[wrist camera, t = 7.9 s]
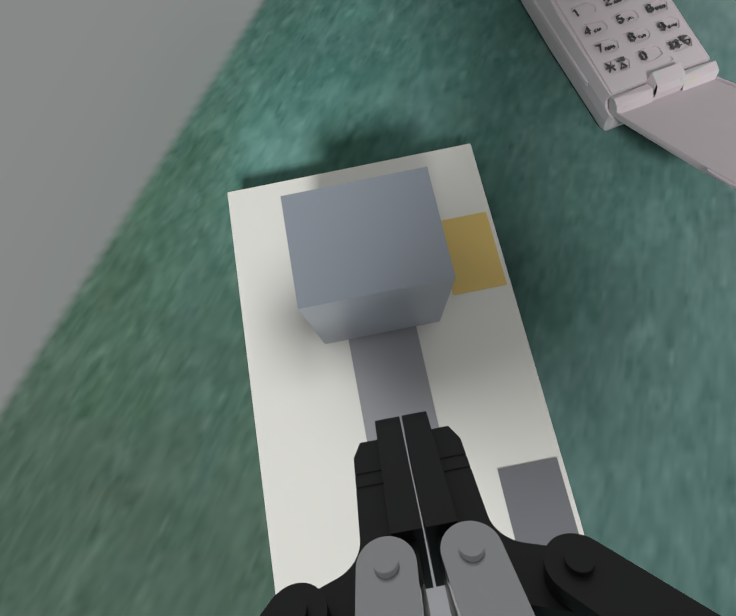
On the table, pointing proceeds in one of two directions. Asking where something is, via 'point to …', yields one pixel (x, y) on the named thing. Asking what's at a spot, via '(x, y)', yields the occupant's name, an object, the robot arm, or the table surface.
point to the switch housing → (392, 382)
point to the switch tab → (368, 255)
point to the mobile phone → (645, 76)
